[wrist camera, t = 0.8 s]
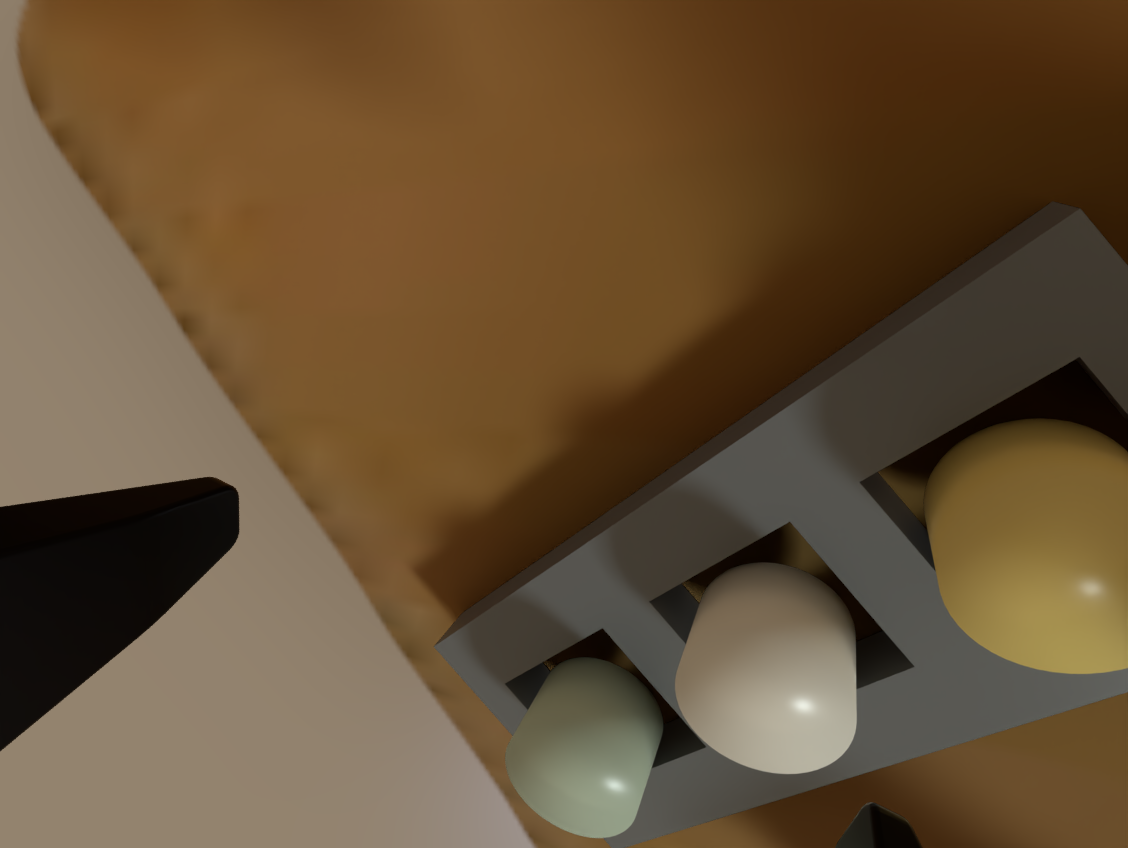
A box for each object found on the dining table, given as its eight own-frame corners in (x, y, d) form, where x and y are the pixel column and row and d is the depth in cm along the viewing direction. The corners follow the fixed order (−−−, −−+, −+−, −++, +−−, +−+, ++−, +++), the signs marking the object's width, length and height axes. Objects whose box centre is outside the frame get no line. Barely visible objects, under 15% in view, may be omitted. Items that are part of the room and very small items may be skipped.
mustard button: (1196, 532, 14) (1275, 620, 11) (995, 613, 16) (1024, 702, 13) (1068, 380, 14) (1119, 434, 11) (884, 483, 16) (891, 546, 13)
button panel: (1342, 551, 14) (1408, 604, 13) (630, 804, 26) (614, 850, 24) (1052, 201, 14) (1080, 208, 12) (462, 613, 25) (433, 646, 24)
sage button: (690, 736, 21) (667, 818, 18) (599, 773, 23) (568, 850, 21) (604, 638, 21) (569, 707, 18) (521, 684, 23) (480, 751, 20)
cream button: (890, 655, 17) (897, 743, 15) (761, 707, 20) (747, 792, 17) (787, 536, 17) (776, 604, 15) (669, 602, 19) (641, 671, 17)
